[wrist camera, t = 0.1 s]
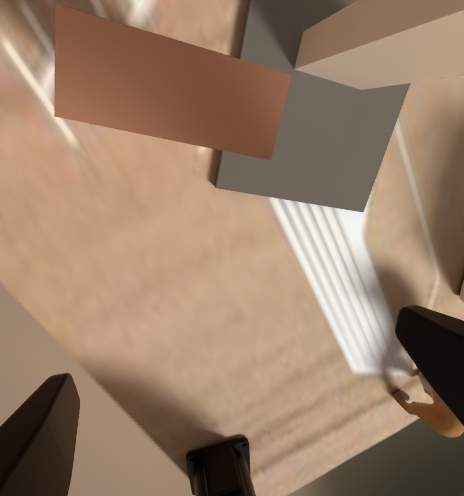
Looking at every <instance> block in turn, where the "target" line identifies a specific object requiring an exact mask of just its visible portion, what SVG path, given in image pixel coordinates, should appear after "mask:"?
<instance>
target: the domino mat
mask: <svg viewBox="0 0 464 496" xmlns="http://www.w3.org/2000/svg"><path fill="white" fill-rule="evenodd" d="M355 1H357V0H249V2H248V8H247V13H246V18H245V24H244V29H243V35H242V40H241V45H240V51H239V56H238V59H241V60H245V61H248V62H251V63H255V64H258V65H261V66H265V67H268V68H271V69H275V70H278V71H281V72H285V73H288V74H291V79H290V84H289V88H288V92H287V96H286V100H285V104H284V108H283V113H282V117H281V121H280V125H279V129H278V133H277V137H276V141H275V146H274V150H273V154H272V158H271V160H266V159H261V158H257V157H252V156H247V155H242V154H237V153H232V152H227V151H222V150H221V153H220V159H219V164H218V170H217V175H216V180H215V187H216V188H219V189H225V190H231V191H237V192H243V193H249V194H255V195H262V196H268V197H274V198H280V199H286V200H292V201H298V202H304V203H310V204H316V205H322V206H328V207H334V208H340V209H346V210H352V211H358V212H364V209H365V206H366V204H367V201H368V198H369V195H370V193H371V190H372V187H373V184H374V182H375V179H376V176H377V173H378V171H379V168H380V165H381V162H382V160H383V157H384V154H385V151H386V149H387V146H388V143H389V140H390V138H391V135H392V132H393V129H394V127H395V124H396V121H397V118H398V116H399V113H400V110H401V107H402V105H403V102H404V99H405V96H406V94H407V91H408V88H409V85H410V83H407V84H400V85H393V86H385V87H378V88H371V89H364V90H360V89H357V88H354V87H350V86H347V85H344V84H341V83H337V82H334V81H331V80H328V79H324V78H321V77H318V76H314V75H311V74H308V73H305V72H301V71H298V70H295V69H294V68H295V64H296V60H297V55H298V51H299V47H300V43H301V39H302V35H303V31H305V30H307V29H309V28H310V27H312V26H314V25H316V24H317V23H319V22H321V21H323V20H324V19H326V18H328V17H329V16H331V15H333V14H335V13H336V12H338V11H340V10H342V9H343V8H345V7H347V6H348V5H350V4H352V3H354V2H355Z"/></svg>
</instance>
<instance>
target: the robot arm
mask: <svg viewBox="0 0 464 496" xmlns="http://www.w3.org/2000/svg"><path fill="white" fill-rule="evenodd" d="M395 333H396V336H397V338H398V340H399V341H400V343H401V344H402V346H403V347H404V348H405V350H406V351H407V353H408V354H409V356H410V357H411V359H412V360H413V362H414V363H415V364H416V366H417V367H418V369H419V370H420V372H421V373H422V375H423V376H424V377H425V379H426V380H427V382H428V383H429V384H430V386H431V387H432V388H433V389H434V391H435V392H436V393H437V394H438V396H439V397H440V398H441V399H442V401H443V402H444V403H445V404H446V405H447V407H448V408H449V409H450V410H451V411H452V413H453V414H454V415H455V416H456V418H457V419H458V420H459V421H460V422H461V424H462V425H463V426H464V321H463V320H460V319H457V318H454V317H451V316H448V315H445V314H442V313H439V312H436V311H433V310H430V309H427V308H424V307H421V306H418V305H410V306H405V307H402V308H401V309H400V310H399V313H398V318H397V322H396V327H395ZM79 410H80V399H79V395H78V392H77V389H76V386H75V384H74V381H73V378H72V376H71V374H69V373H63V374H58V375H53V376H51V377H49V378H48V379H47V380H46V381H45V382H44V383H43V384H42V385H41V386H40V387H39V388H38V389H37V390H36V391H35V392H34V393H33V394H32V395H31V396H30V397H29V398H28V399H27V400H26V401H25V402H24V403H23V404H22V405H21V406H20V407H19V408H18V409H17V410H16V411H15V412H14V413H13V414H12V415H11V416H10V418H8V419H7V420H6V421H5V422H4V423H3V424H2V426H0V496H67V495H68V490H69V486H70V480H71V475H72V468H73V461H74V452H75V444H76V435H77V427H78V419H79ZM186 462H187V467H188V473H189V479H190V484H191V489H192V494H193V495H195V496H256V494H255V491H254V487H253V484H252V480H251V476H250V454H249V442H248V439H247V438H241V439H237V440H234V441H230V442H226V443H223V444H219V445H215V446H212V447H208V448H204V449H201V450H197V451H193V452H190V453H188V454H187V455H186Z"/></svg>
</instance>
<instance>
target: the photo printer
mask: <svg viewBox="0 0 464 496" xmlns="http://www.w3.org/2000/svg"><path fill="white" fill-rule="evenodd" d="M460 299H461V300H462V301H463V302H464V281H463V284H462V288H461V292H460Z"/></svg>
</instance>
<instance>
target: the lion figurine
mask: <svg viewBox="0 0 464 496" xmlns="http://www.w3.org/2000/svg"><path fill="white" fill-rule="evenodd" d="M418 376H419V378H420V381H421V383H422V386H423V389H424V391H425V392H426V393H427V394H429V395H430V396H431V397H432V399H433V401H434V403H433V404H426V403H419V402H412V403H407V402H406V401H405V399H404V393H403V392H401V391H398V392H396V393H395V394H394V399H395V400H396V401H397V402H398V403H399V404H400V405H401V406H402V407H403V408H404V409H405V411H407V412H408V413H409V414H413V415H417V416H418V417H420V418H421V419H423V420H424V421H425V422H426V423H427V424H428V425H429V426H431V427H432V428H433V429H434V430H435V431H437V432H438V433H440V434H442V435H444V436H446V437H458V436H460V435H461V434H462V433H463V432H464V426H463V425H462V424H461V422H460V421H459V420H458V419H457V418H456V416H455V415H454V414H453V413H452V411H451V410H450V409H449V408H448V407H447V405H446V404H445V403H444V402H443V401H442V399H441V398H440V397H439V396H438V394H437V393H436V392H435V391H434V389H433V388H432V387H431V386H430V384H429V383H428V382H427V380H426V379H425V377H424V376H423V375H422V373H421V372H420V371H419V373H418Z"/></svg>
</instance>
